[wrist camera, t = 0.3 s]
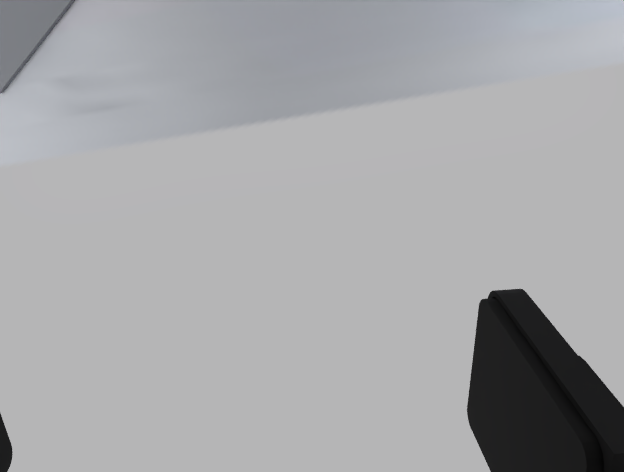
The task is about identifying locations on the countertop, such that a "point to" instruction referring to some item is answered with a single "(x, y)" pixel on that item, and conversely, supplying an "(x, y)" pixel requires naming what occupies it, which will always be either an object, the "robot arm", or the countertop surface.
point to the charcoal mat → (24, 31)
